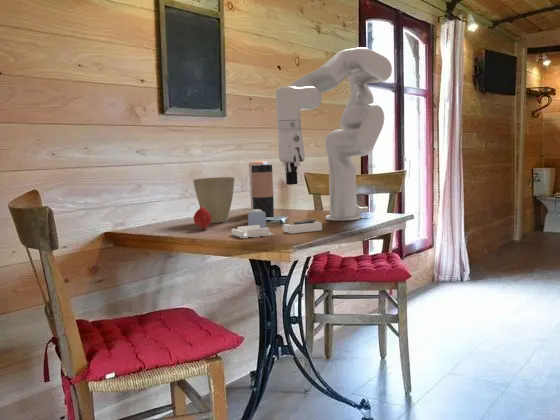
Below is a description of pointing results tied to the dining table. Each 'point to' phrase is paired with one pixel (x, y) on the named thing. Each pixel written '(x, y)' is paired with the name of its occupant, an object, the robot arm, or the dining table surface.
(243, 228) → the holder
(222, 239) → the dining table surface
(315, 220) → the dark grey bar
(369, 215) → the dining table surface
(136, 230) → the dining table surface
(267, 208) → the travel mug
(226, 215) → the plant pot
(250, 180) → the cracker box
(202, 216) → the onion
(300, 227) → the clip
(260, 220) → the block
